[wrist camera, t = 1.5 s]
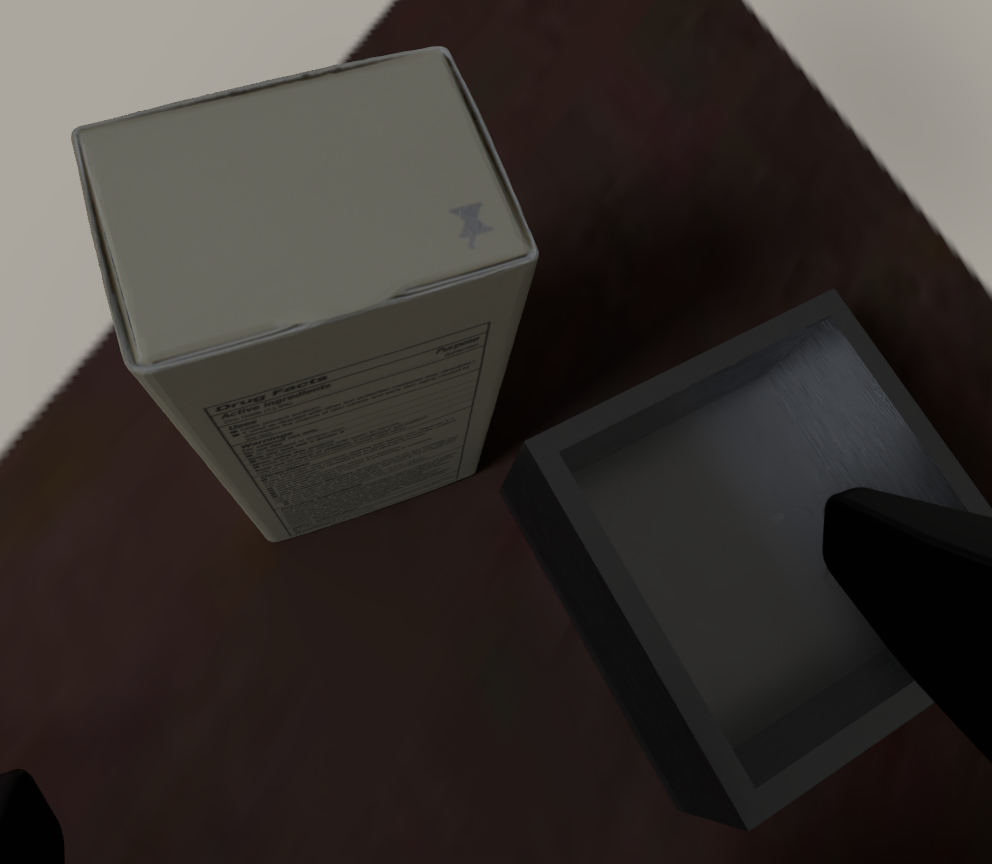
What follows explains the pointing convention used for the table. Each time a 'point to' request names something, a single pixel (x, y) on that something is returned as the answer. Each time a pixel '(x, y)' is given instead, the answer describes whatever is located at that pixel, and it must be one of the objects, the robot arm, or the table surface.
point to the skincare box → (315, 280)
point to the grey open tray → (736, 554)
